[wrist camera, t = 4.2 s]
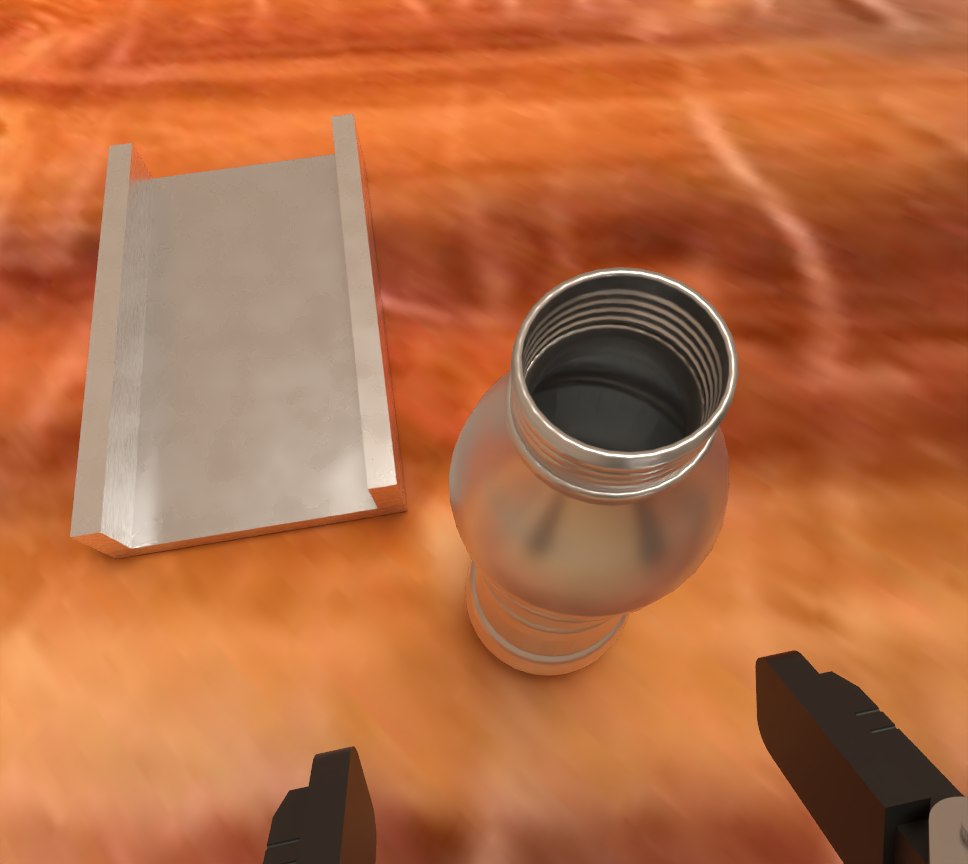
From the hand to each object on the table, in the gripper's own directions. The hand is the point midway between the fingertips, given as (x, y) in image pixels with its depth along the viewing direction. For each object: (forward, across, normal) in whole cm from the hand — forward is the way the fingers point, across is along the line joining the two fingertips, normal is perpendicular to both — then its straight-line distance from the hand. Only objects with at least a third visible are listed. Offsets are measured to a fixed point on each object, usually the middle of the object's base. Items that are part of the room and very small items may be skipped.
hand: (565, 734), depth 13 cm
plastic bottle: (+14, +2, -7) cm, 16 cm away
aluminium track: (+26, -10, +5) cm, 28 cm away
